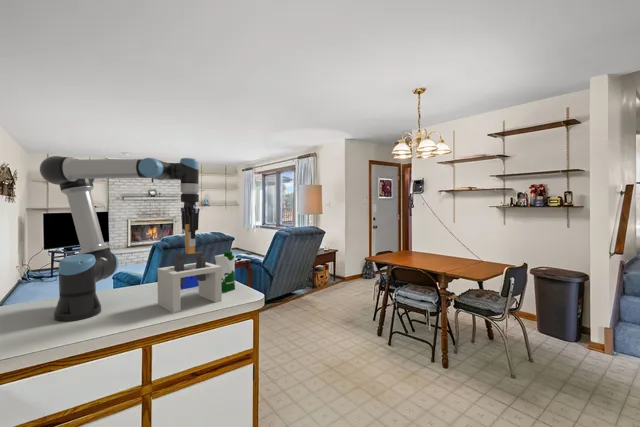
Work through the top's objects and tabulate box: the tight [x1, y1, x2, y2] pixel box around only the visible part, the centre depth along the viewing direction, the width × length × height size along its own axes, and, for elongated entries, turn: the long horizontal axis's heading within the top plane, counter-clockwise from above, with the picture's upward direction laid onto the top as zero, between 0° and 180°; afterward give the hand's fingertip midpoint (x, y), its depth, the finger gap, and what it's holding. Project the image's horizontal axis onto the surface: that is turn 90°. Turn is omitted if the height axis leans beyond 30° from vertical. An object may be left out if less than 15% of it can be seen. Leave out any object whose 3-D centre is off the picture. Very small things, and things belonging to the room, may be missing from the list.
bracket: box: [180, 275, 199, 290], centre depth 176 cm, size 18×8×9 cm, turn 138°
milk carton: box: [214, 250, 237, 293], centre depth 166 cm, size 9×9×20 cm
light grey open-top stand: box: [157, 261, 223, 314], centre depth 145 cm, size 22×16×16 cm
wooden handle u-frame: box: [174, 224, 206, 285], centre depth 145 cm, size 12×5×26 cm, turn 138°
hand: (190, 245), depth 145 cm, fingers closed on wooden handle u-frame, 3 cm apart
